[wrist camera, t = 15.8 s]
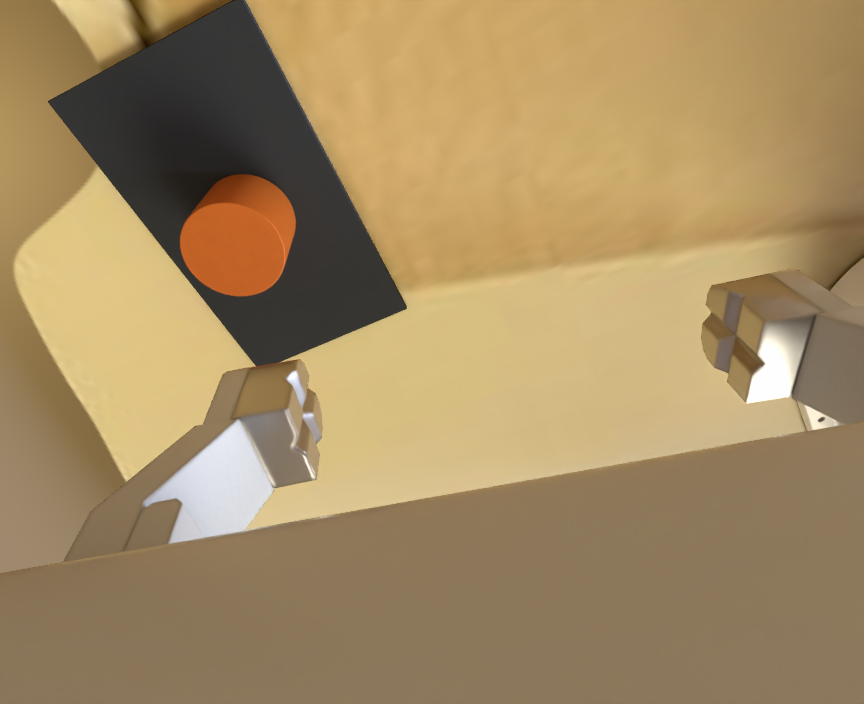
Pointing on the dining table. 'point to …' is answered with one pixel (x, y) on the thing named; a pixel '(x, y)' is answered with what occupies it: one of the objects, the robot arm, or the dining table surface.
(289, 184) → the mat
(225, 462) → the robot arm
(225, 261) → the cylinder
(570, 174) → the dining table surface
